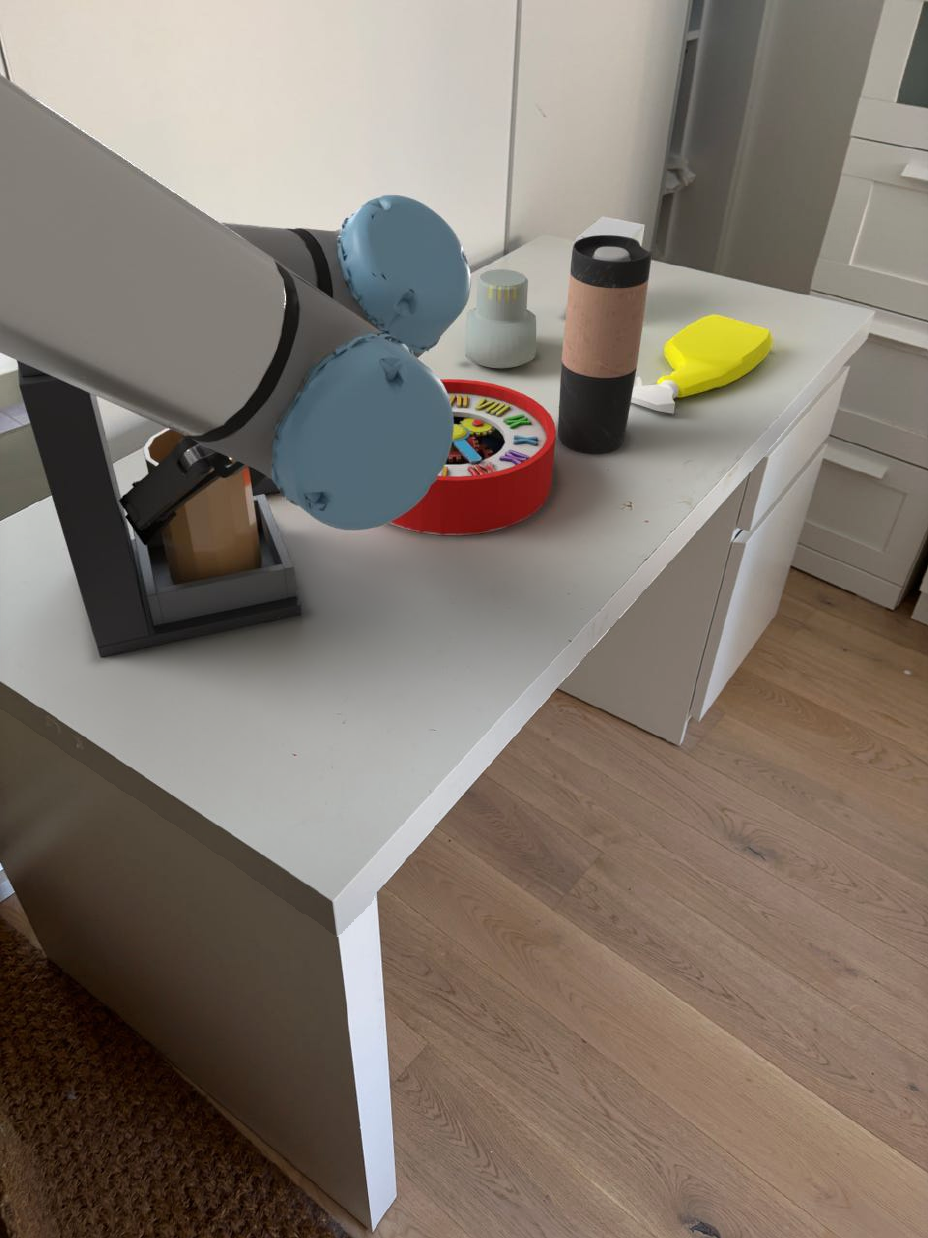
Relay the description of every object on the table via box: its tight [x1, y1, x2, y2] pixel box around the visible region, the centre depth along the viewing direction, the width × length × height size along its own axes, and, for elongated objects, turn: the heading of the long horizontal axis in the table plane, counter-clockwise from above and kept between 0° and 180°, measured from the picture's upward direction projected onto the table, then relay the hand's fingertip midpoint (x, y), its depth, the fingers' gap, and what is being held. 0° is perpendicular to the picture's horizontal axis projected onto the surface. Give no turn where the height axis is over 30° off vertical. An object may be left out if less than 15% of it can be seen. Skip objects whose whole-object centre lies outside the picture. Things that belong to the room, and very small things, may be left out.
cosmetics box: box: [574, 216, 645, 247], centre depth 127 cm, size 10×6×10 cm, turn 155°
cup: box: [142, 427, 262, 585], centre depth 79 cm, size 8×8×12 cm
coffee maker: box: [16, 360, 303, 658], centre depth 75 cm, size 14×16×24 cm
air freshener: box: [464, 268, 537, 369], centre depth 115 cm, size 11×8×10 cm
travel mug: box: [557, 235, 653, 454], centre depth 97 cm, size 8×8×20 cm
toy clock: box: [388, 378, 557, 536], centre depth 95 cm, size 20×6×20 cm
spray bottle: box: [631, 313, 774, 414], centre depth 115 cm, size 3×11×24 cm
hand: (194, 500), depth 80 cm, fingers open, 10 cm apart
